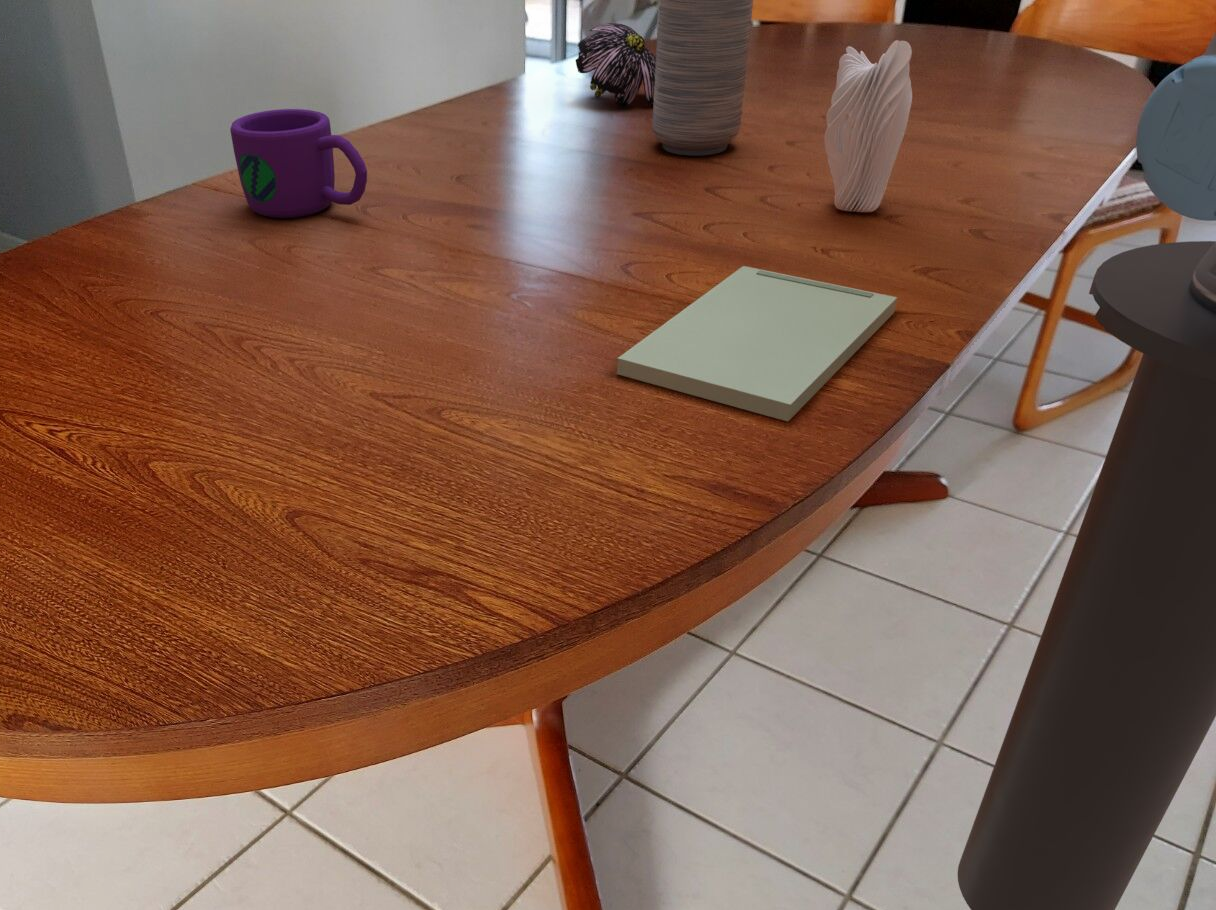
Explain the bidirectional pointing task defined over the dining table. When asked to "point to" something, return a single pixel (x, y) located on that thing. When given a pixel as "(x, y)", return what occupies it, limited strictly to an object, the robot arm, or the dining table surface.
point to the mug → (292, 162)
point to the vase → (700, 74)
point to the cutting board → (759, 341)
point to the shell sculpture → (867, 125)
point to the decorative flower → (618, 63)
